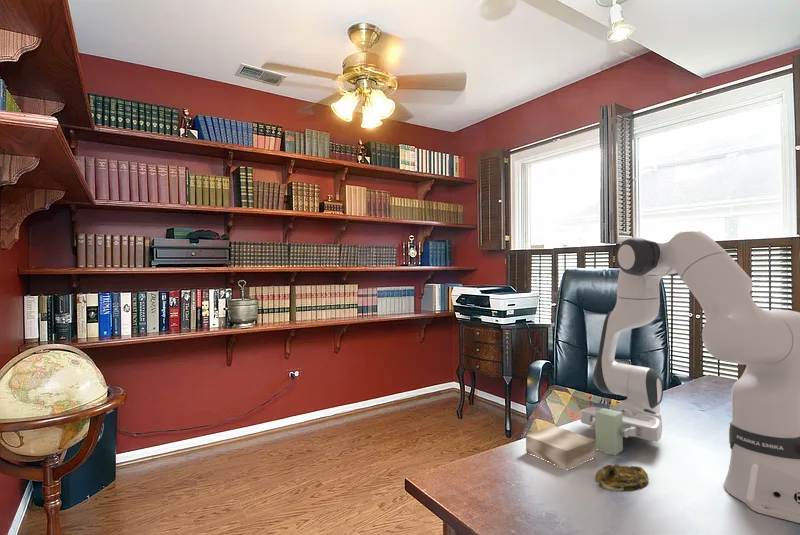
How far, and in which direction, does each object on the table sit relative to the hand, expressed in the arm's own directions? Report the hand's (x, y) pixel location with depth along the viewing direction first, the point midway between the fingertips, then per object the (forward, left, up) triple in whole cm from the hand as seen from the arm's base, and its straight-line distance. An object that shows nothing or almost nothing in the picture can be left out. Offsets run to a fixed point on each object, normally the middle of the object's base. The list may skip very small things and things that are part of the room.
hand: (607, 429), depth 112 cm
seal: (-9, +14, -6) cm, 17 cm away
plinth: (+7, +12, -6) cm, 15 cm away
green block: (0, -1, -6) cm, 6 cm away
